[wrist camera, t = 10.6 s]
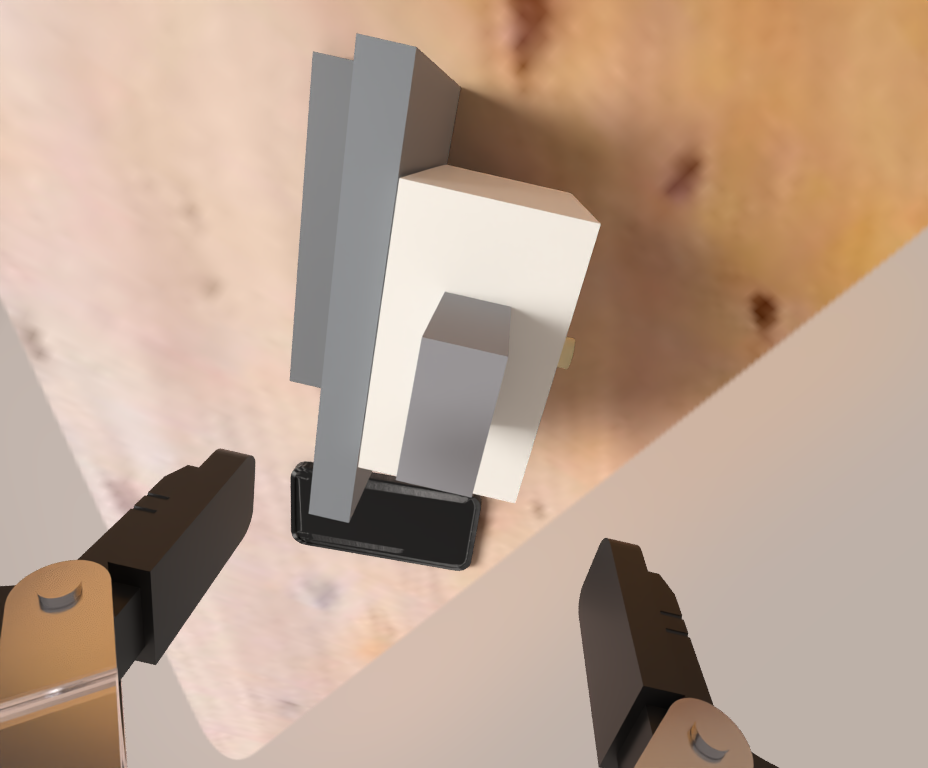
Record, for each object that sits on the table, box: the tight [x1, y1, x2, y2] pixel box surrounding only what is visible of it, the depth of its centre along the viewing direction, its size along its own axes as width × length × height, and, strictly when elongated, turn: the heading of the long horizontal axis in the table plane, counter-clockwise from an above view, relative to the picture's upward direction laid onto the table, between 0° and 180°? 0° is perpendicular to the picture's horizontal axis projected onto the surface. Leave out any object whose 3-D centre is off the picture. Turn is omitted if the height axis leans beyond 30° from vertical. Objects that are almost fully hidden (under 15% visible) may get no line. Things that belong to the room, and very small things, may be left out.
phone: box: [291, 462, 481, 571], centre depth 43 cm, size 8×1×15 cm
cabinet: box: [358, 164, 601, 503], centre depth 24 cm, size 8×12×17 cm, turn 168°
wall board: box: [290, 33, 461, 523], centre depth 28 cm, size 12×20×14 cm, turn 168°
